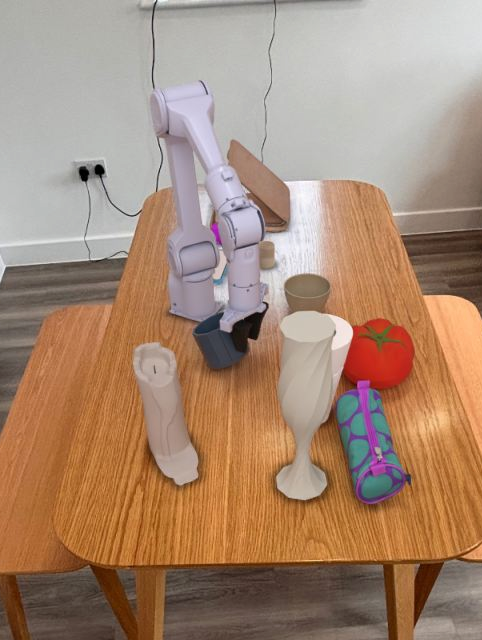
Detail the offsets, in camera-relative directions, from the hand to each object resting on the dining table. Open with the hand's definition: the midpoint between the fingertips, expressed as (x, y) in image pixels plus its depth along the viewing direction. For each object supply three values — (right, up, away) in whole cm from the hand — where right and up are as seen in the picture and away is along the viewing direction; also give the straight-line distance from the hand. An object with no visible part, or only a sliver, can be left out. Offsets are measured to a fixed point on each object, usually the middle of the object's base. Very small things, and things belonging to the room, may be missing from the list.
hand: (246, 344), depth 123 cm
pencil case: (+21, -24, -13) cm, 34 cm away
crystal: (-7, +36, +40) cm, 54 cm away
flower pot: (+13, +11, +17) cm, 24 cm away
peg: (+4, +27, +31) cm, 42 cm away
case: (0, +47, +48) cm, 68 cm away
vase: (+9, -27, -15) cm, 32 cm away
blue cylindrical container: (-3, -1, +4) cm, 5 cm away
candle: (-12, -23, -10) cm, 28 cm away
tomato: (+25, -5, +3) cm, 26 cm away
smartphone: (-9, +26, +31) cm, 42 cm away
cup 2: (+13, -14, -4) cm, 20 cm away
